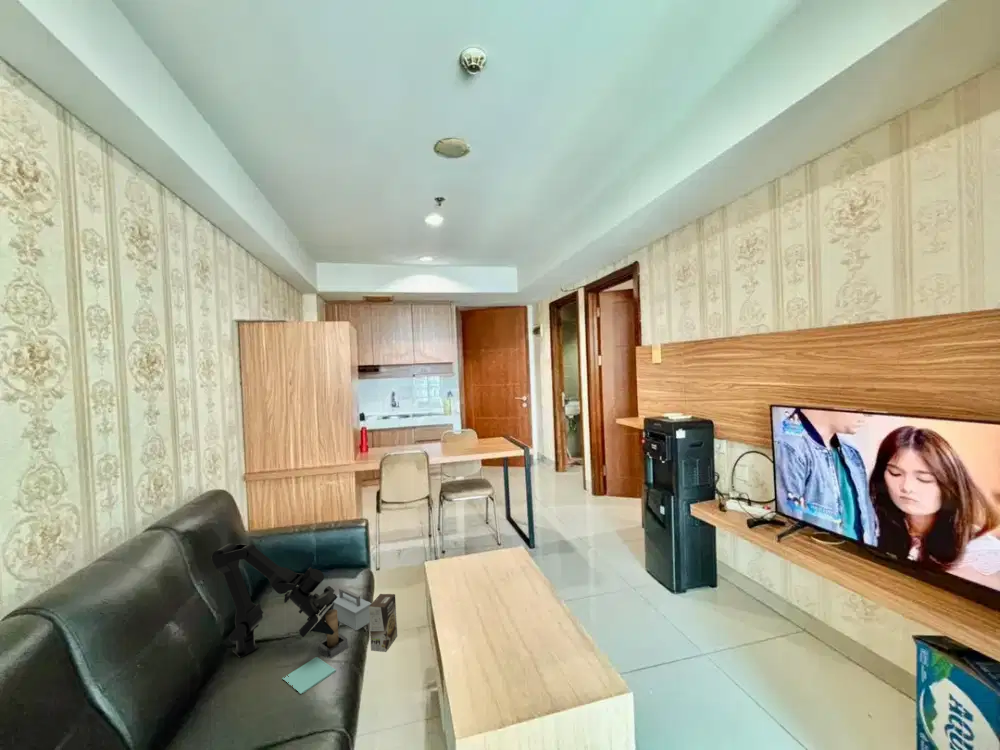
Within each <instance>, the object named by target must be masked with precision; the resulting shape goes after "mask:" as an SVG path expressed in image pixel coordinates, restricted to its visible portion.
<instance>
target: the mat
mask: <svg viewBox="0 0 1000 750" xmlns="http://www.w3.org/2000/svg"><path fill="white" fill-rule="evenodd" d="M336 672H337V669H336V668H334V667H333V666H331V665H330V664H328V663H326V662H325V661H324V660H322V659H321V658H320V657H318V656H316V657H314V658H311V660H309V661H308V662H306V663H304V664H303V665H300V667H298V668H296V669H295V670H293V671H292V672H290V673H289V674H287V675H288V676H289V677H288V676H287V675H285V676H286V677H285V676H283V677H282V678H281V680H282V679H283V680H285V681H286V682H287V683H288V682H289V683H288V684H289V685H291V686H292V685H293V688H294V689H296V690H297V691H298V692H299V693H300V694H302V693H303V694H305V693H306V692H308V691H310V690H311V689H312V688H314V687H315V686H317V685H318V684H319V683H321V682H323V681H324V680H326V679H327V678H328V677H330V676H331V675H333V674H334V673H336ZM284 677H285V678H284ZM283 680H282V681H283ZM287 683H286V684H287ZM288 684H287V685H288ZM289 685H288V686H289ZM293 688H292V689H293ZM310 688H311V689H310ZM294 689H293V690H294ZM307 690H308V691H307ZM298 692H297V693H298ZM304 692H305V693H304ZM299 693H298V694H299ZM300 694H299V695H300ZM303 694H302V695H303Z"/></svg>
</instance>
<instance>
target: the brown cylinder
mask: <svg viewBox="0 0 1000 750" xmlns="http://www.w3.org/2000/svg"><path fill="white" fill-rule="evenodd" d="M325 616H326V621H325V622H326V623H327V624H328V625H329V626H330V627H331V629H332V630H333V631H334V634H333V635H330V634H326V639H327V647H328V648H329V649H331V648H333V647H334V646H336V645H338V644H339V634H340V633H339V627H338V622H339V621H338V616H337V610H335V609H332V610H329V611H327V612H326V614H325ZM338 633H339V634H338Z"/></svg>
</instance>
